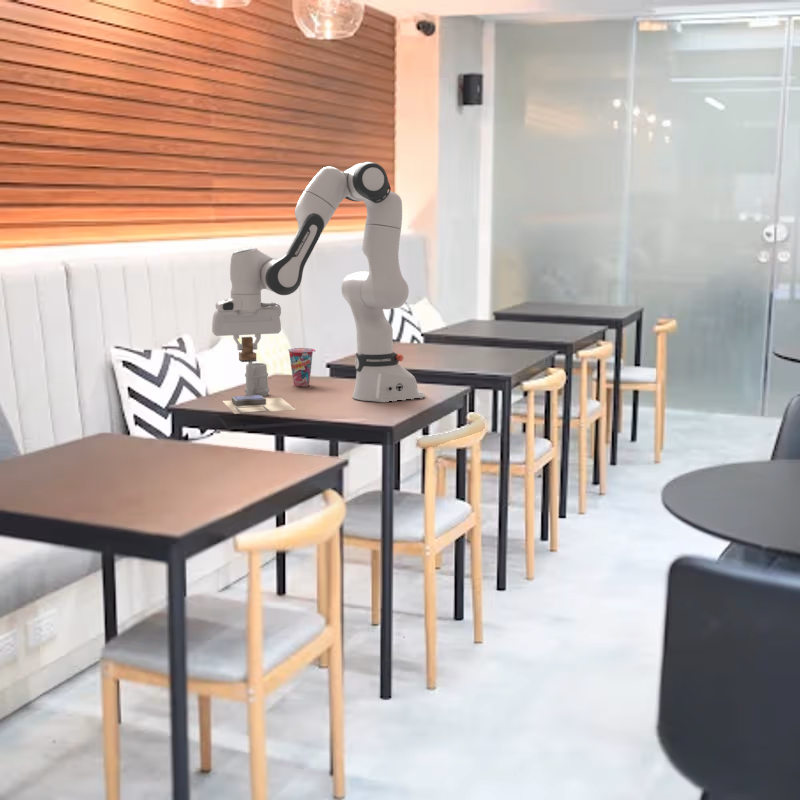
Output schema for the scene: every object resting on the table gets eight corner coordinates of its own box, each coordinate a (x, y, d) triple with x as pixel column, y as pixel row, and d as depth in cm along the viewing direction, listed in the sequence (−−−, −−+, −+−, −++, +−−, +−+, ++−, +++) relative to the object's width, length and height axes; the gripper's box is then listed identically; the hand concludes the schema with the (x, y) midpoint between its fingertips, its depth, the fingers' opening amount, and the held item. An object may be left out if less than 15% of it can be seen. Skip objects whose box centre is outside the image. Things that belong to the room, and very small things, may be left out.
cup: (287, 387, 366) (286, 351, 364) (290, 383, 374) (289, 347, 372) (315, 387, 366) (314, 351, 363) (318, 383, 374) (317, 347, 372)
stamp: (253, 359, 334) (253, 336, 332) (256, 361, 330) (255, 337, 328) (239, 360, 332) (238, 336, 331) (241, 362, 328) (241, 338, 327)
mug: (272, 393, 355) (271, 356, 353) (261, 400, 344) (260, 361, 342) (249, 392, 356) (248, 355, 354) (237, 399, 345) (236, 361, 343)
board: (280, 400, 343) (280, 391, 342) (296, 413, 323) (295, 403, 323) (222, 404, 337) (222, 395, 337) (234, 417, 317) (234, 407, 317)
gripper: (278, 301, 334) (279, 346, 337) (210, 303, 328) (211, 349, 330) (283, 303, 328) (283, 349, 331) (213, 305, 322) (215, 352, 324)
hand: (247, 349), depth 330 cm, fingers closed on stamp, 3 cm apart
